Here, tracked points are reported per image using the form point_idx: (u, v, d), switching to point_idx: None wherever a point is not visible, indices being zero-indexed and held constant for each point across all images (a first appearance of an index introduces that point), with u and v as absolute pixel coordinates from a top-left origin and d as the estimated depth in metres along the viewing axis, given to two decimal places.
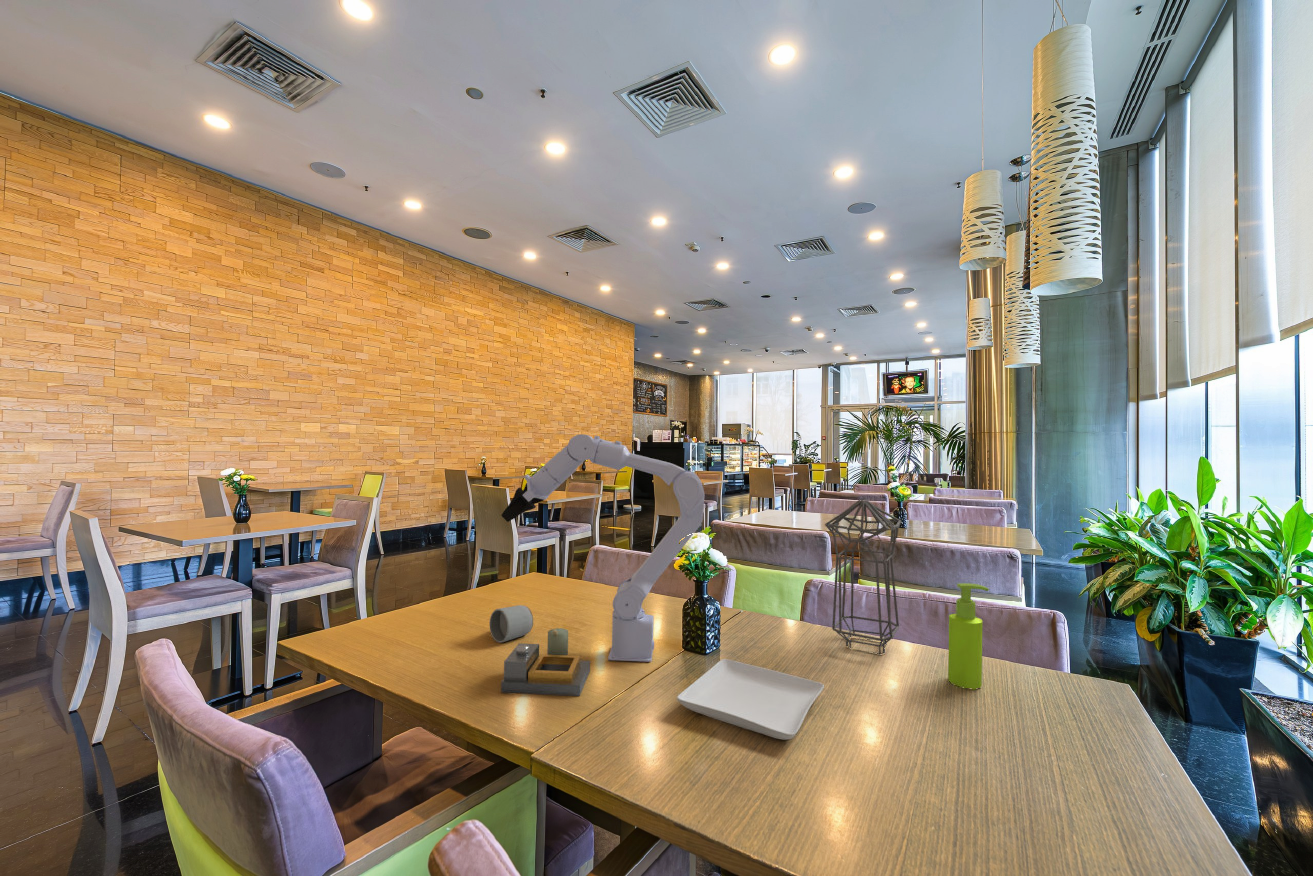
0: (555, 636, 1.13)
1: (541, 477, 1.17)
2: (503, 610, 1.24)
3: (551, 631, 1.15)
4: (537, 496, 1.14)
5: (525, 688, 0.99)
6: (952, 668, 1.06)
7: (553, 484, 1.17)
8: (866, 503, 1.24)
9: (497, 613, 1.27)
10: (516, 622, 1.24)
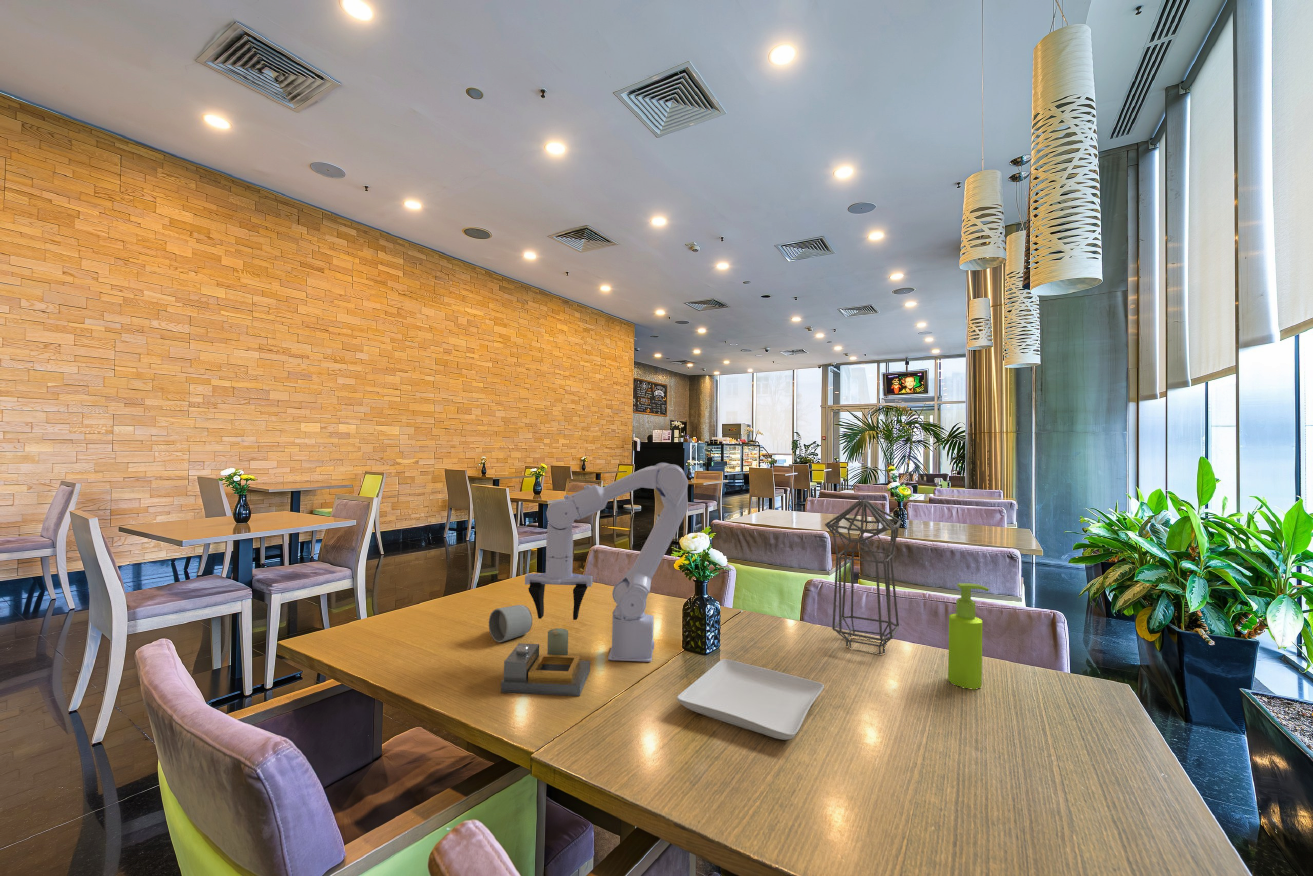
0: (555, 636, 1.13)
1: (569, 565, 1.14)
2: (502, 610, 1.24)
3: (551, 631, 1.15)
4: None
5: (525, 688, 0.99)
6: (952, 668, 1.06)
7: None
8: (866, 503, 1.24)
9: (496, 613, 1.27)
10: (515, 622, 1.24)
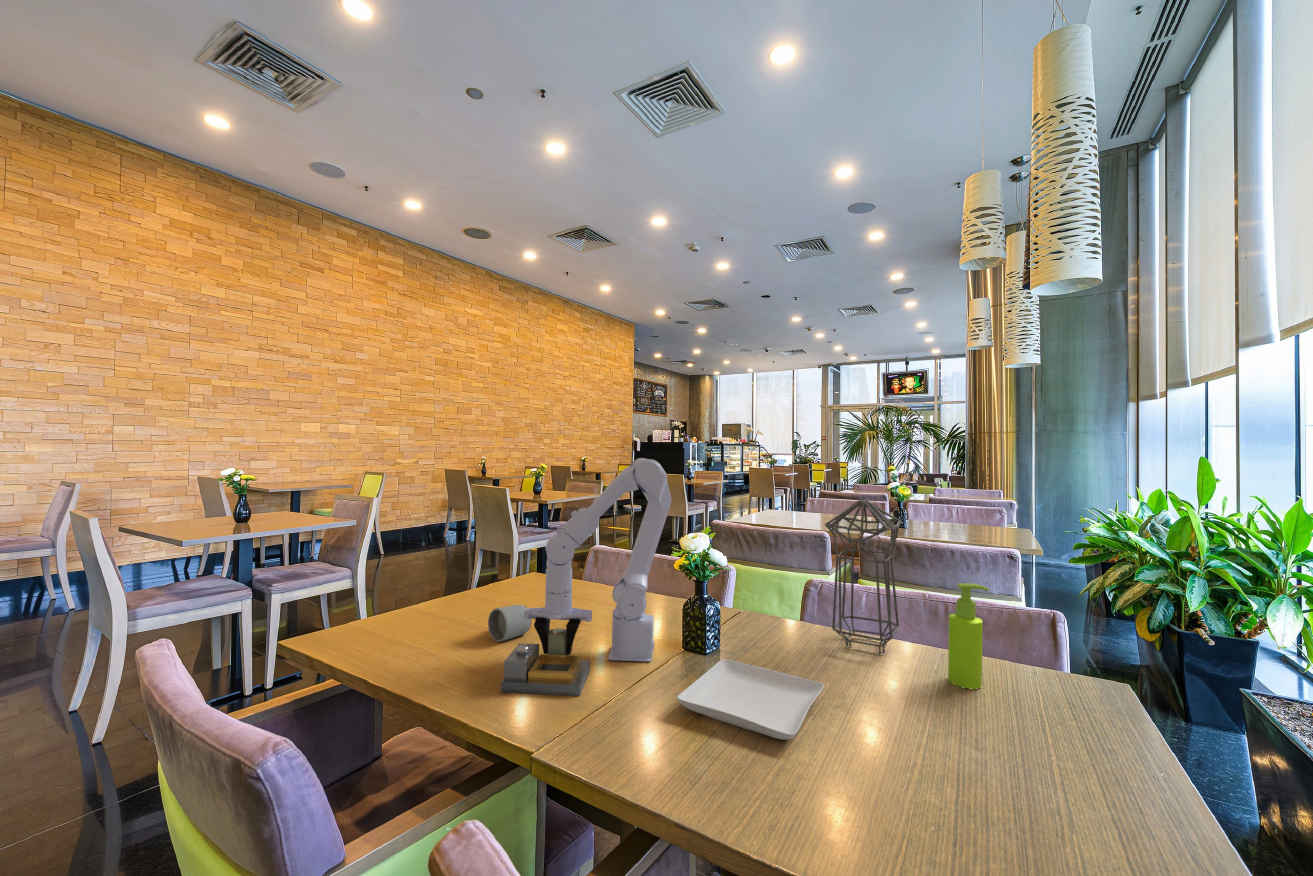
0: (555, 636, 1.13)
1: (569, 600, 1.14)
2: (501, 609, 1.25)
3: (551, 631, 1.15)
4: None
5: (525, 688, 0.99)
6: (952, 668, 1.06)
7: None
8: (866, 503, 1.24)
9: (495, 612, 1.28)
10: (514, 621, 1.24)
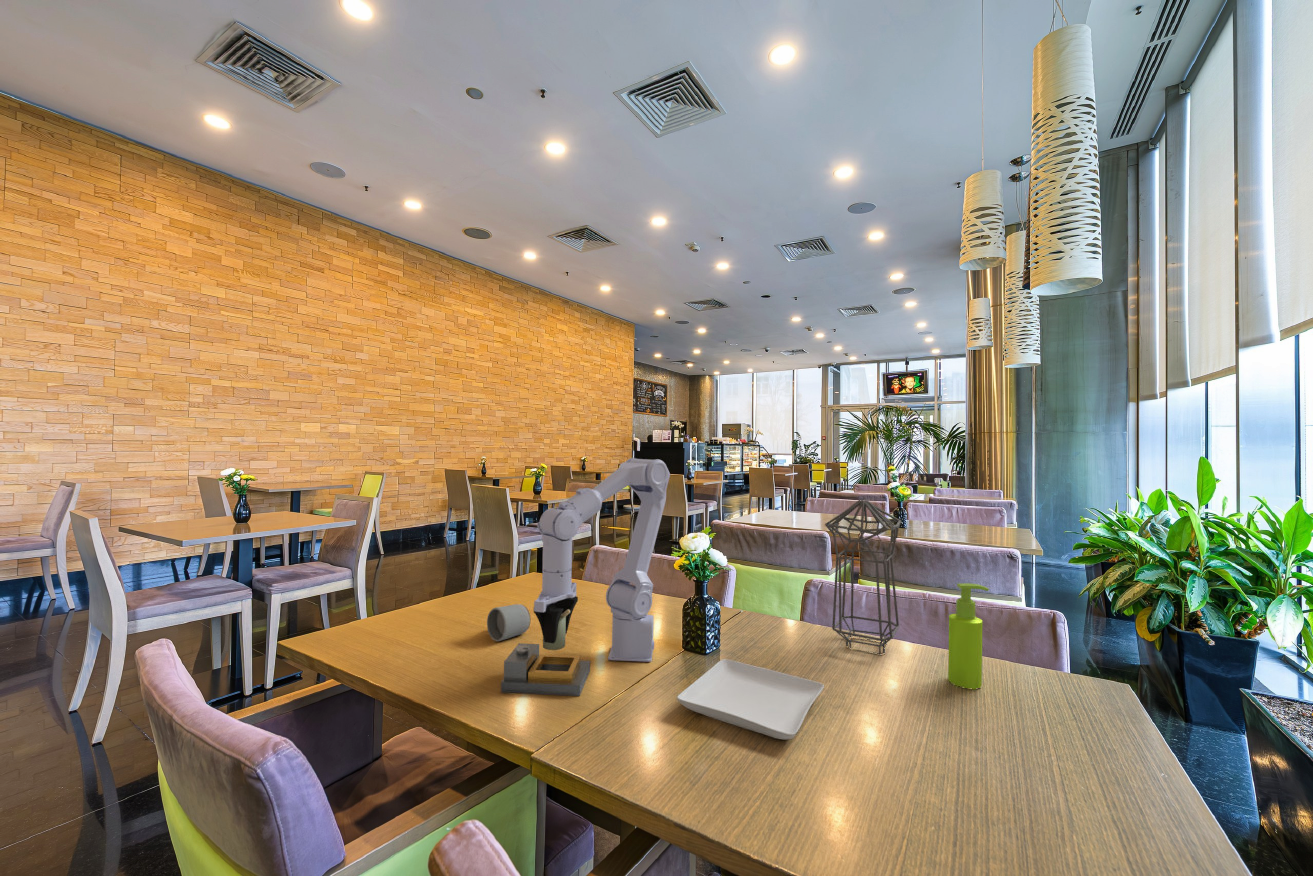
0: (563, 618, 1.04)
1: None
2: (500, 609, 1.25)
3: None
4: None
5: (525, 688, 0.99)
6: (952, 668, 1.06)
7: None
8: (866, 503, 1.24)
9: (494, 612, 1.28)
10: (513, 621, 1.25)
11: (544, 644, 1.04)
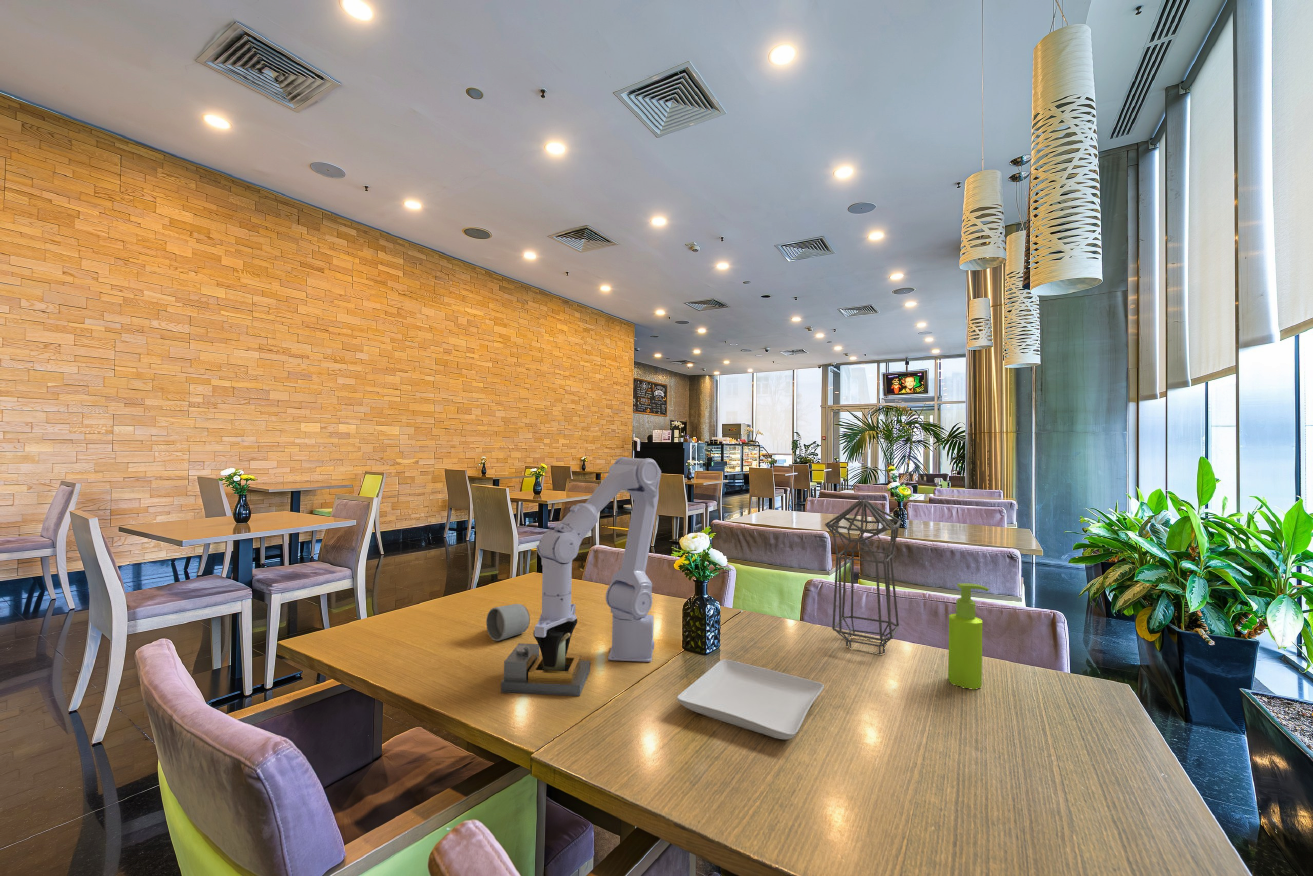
0: (563, 641, 1.04)
1: None
2: (500, 609, 1.25)
3: None
4: None
5: (525, 688, 0.99)
6: (952, 668, 1.06)
7: None
8: (866, 503, 1.24)
9: (494, 612, 1.28)
10: (512, 621, 1.25)
11: (544, 668, 1.03)
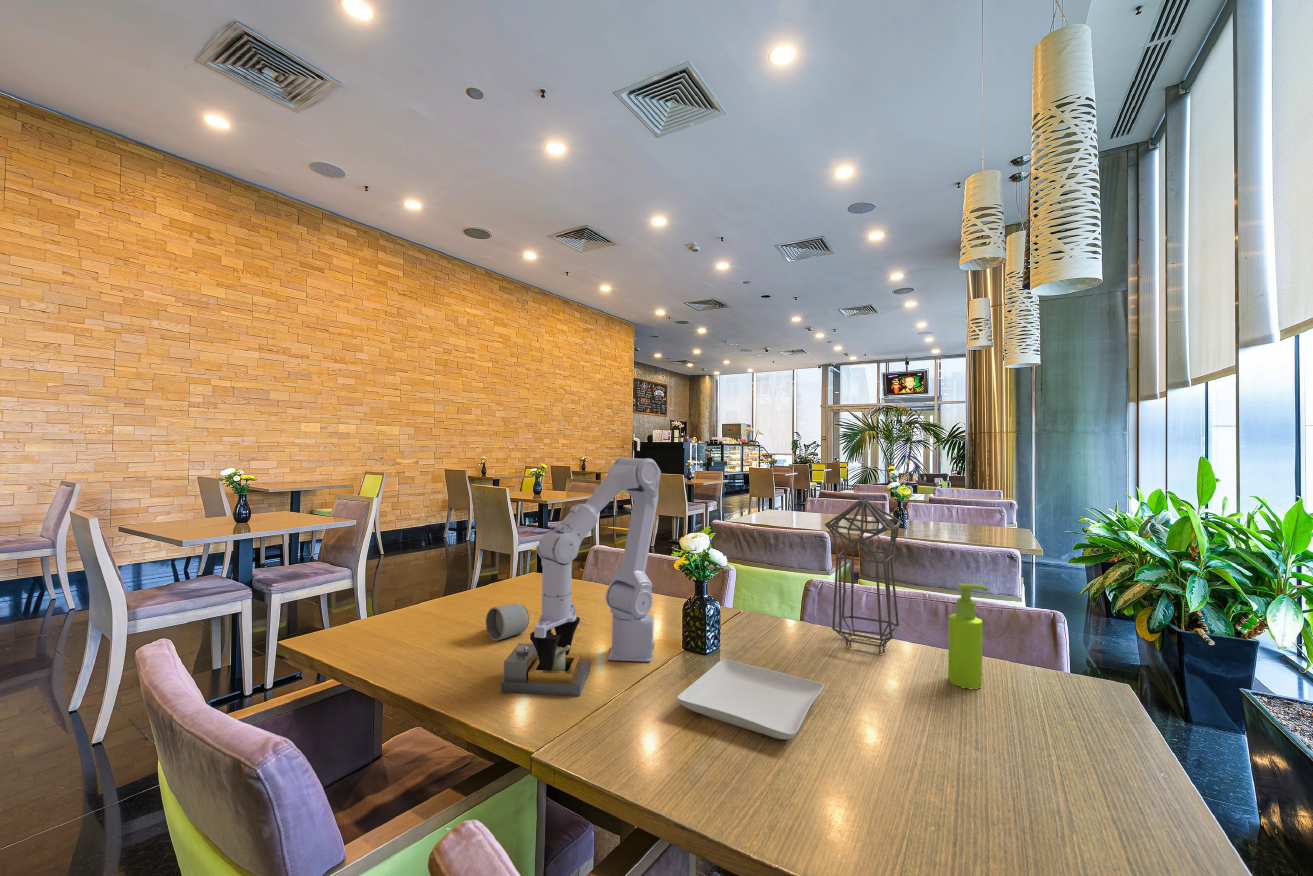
0: (563, 653, 1.04)
1: None
2: (499, 608, 1.25)
3: None
4: None
5: (525, 688, 0.99)
6: (952, 668, 1.06)
7: None
8: (866, 503, 1.24)
9: (493, 611, 1.28)
10: (512, 620, 1.25)
11: None
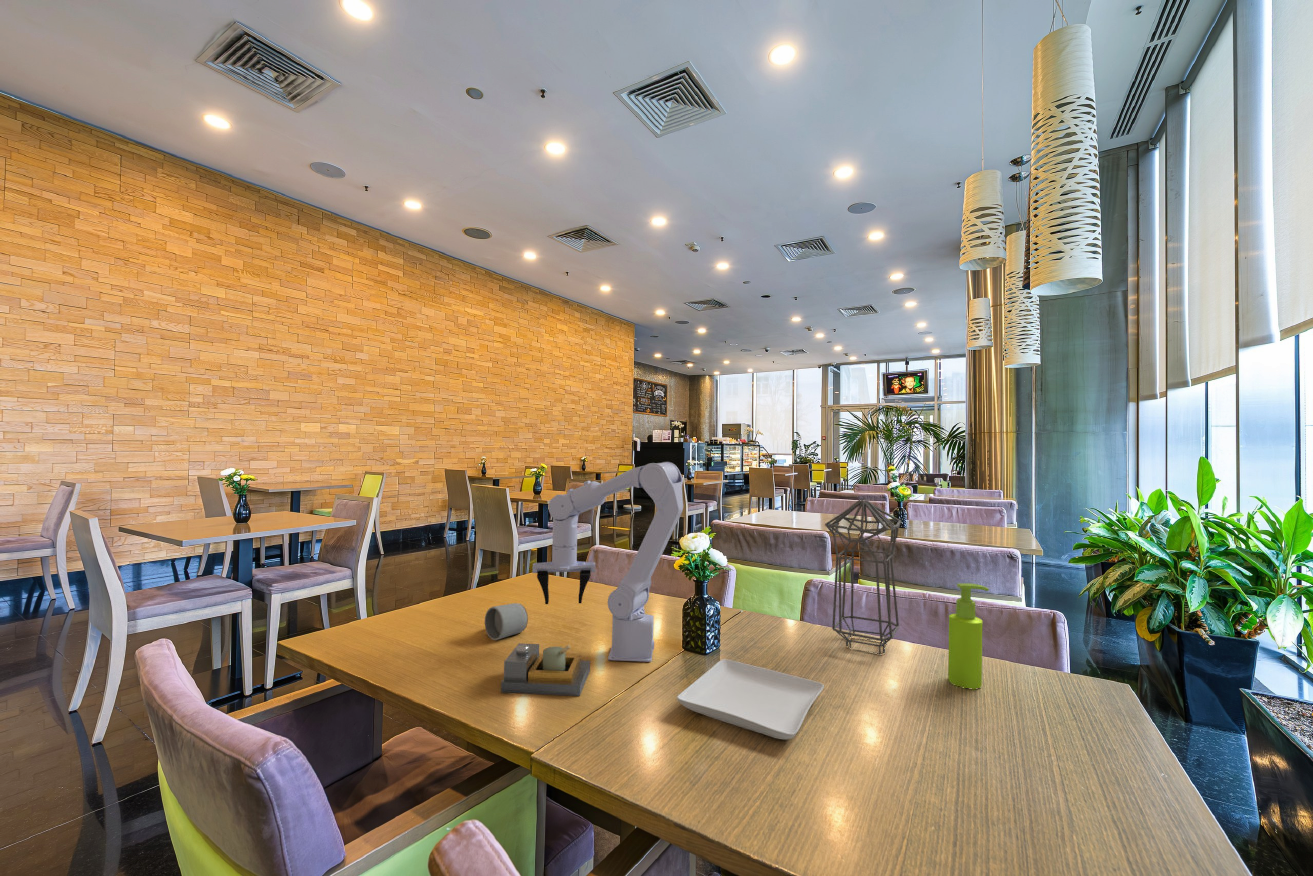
0: (563, 653, 1.04)
1: (575, 553, 1.24)
2: (498, 608, 1.26)
3: (549, 653, 1.03)
4: None
5: (525, 688, 0.99)
6: (952, 668, 1.06)
7: None
8: (866, 503, 1.24)
9: (492, 611, 1.29)
10: (511, 620, 1.25)
11: None
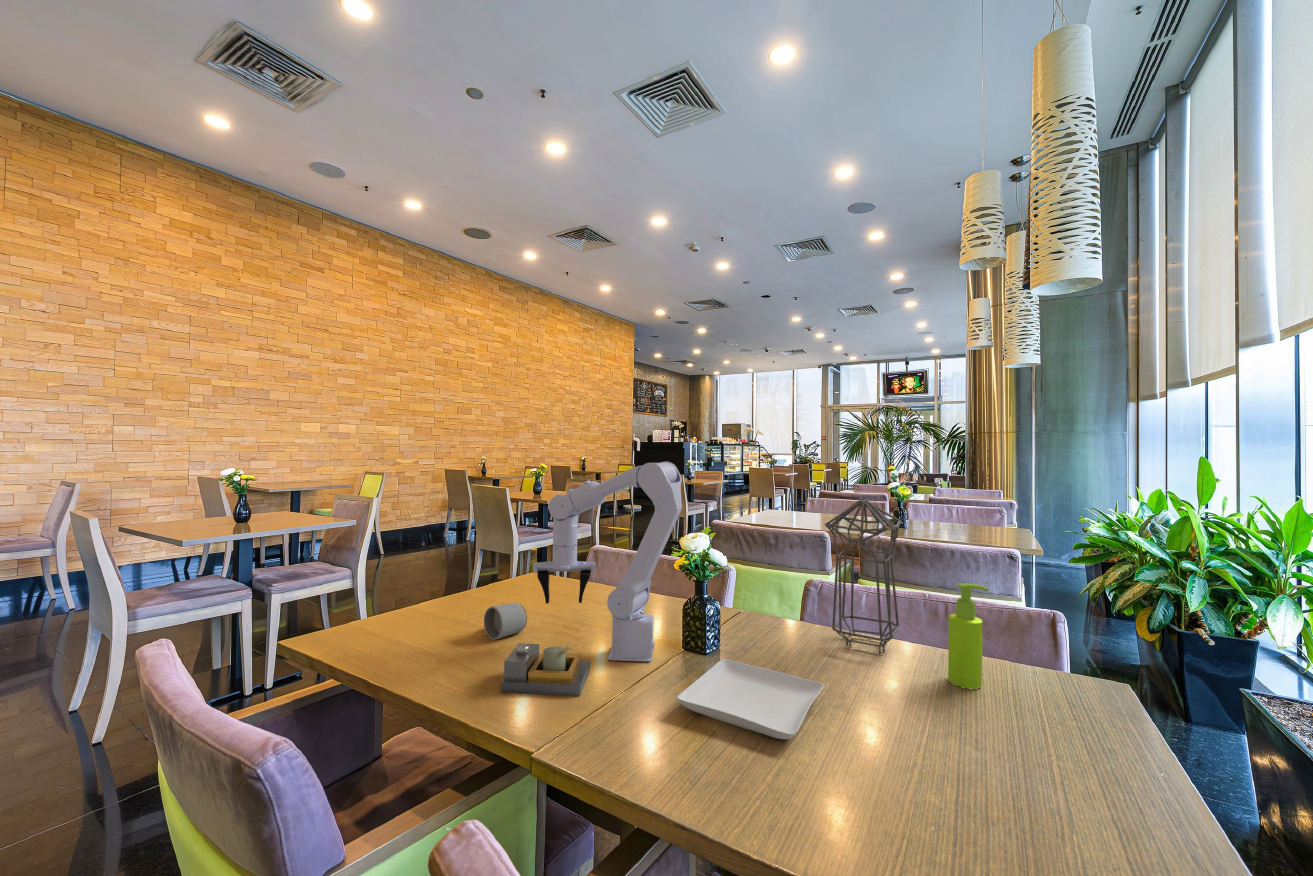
0: (564, 653, 1.04)
1: (575, 553, 1.24)
2: (497, 608, 1.26)
3: (550, 653, 1.03)
4: None
5: (525, 688, 0.99)
6: (952, 668, 1.06)
7: None
8: (866, 503, 1.24)
9: (491, 611, 1.29)
10: (510, 619, 1.26)
11: None
